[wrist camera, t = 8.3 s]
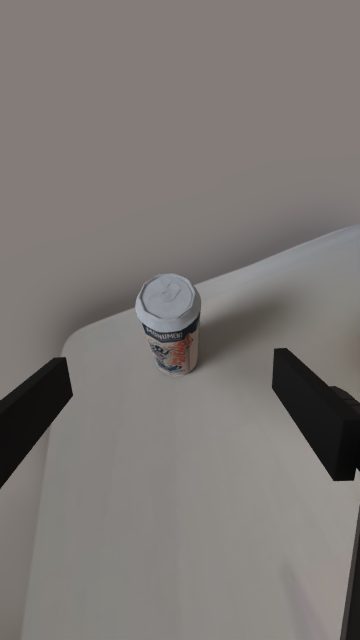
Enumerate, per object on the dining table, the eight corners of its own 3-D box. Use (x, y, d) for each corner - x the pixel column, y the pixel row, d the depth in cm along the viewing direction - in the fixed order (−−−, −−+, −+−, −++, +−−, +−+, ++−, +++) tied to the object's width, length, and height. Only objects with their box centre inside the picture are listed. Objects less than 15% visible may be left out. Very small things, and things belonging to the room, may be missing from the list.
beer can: (147, 363, 27) (118, 305, 16) (170, 331, 29) (158, 259, 18) (183, 386, 25) (177, 337, 15) (205, 350, 27) (214, 284, 17)
